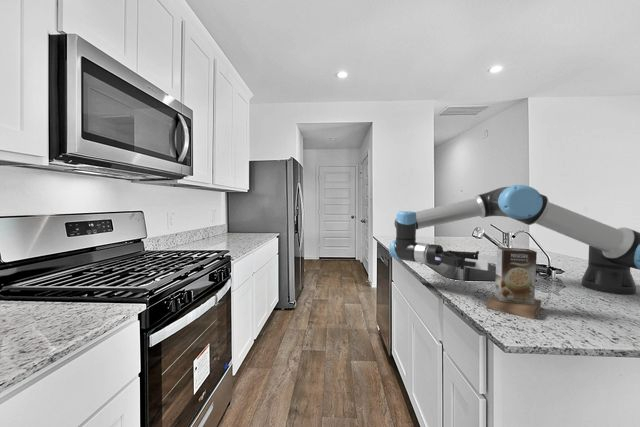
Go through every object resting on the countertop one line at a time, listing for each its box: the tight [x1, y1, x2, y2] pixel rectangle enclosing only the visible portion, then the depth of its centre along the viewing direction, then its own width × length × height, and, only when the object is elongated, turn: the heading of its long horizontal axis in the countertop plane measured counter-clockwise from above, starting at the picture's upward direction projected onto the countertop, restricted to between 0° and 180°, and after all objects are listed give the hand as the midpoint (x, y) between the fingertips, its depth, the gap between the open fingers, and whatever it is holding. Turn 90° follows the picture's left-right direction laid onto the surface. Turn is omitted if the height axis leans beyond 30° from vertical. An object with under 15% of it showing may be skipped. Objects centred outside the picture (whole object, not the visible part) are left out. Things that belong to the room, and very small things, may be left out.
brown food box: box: [494, 246, 538, 305], centre depth 91 cm, size 9×6×16 cm
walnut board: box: [486, 293, 542, 320], centre depth 91 cm, size 12×12×2 cm
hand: (494, 262), depth 94 cm, fingers open, 13 cm apart
